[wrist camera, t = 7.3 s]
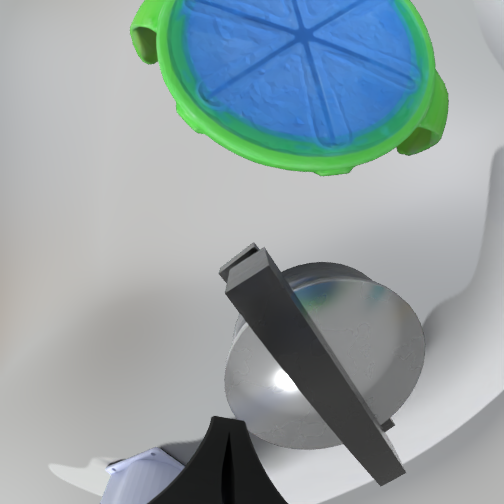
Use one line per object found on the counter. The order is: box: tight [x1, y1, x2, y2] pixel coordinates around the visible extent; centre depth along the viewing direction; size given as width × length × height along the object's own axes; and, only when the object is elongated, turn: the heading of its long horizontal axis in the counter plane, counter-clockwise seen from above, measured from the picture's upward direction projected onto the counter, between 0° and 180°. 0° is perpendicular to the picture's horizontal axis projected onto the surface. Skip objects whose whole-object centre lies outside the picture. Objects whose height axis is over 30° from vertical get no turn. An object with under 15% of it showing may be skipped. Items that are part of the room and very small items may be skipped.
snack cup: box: [130, 0, 449, 176], centre depth 13 cm, size 16×10×10 cm
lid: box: [225, 248, 425, 486], centre depth 15 cm, size 18×13×4 cm
